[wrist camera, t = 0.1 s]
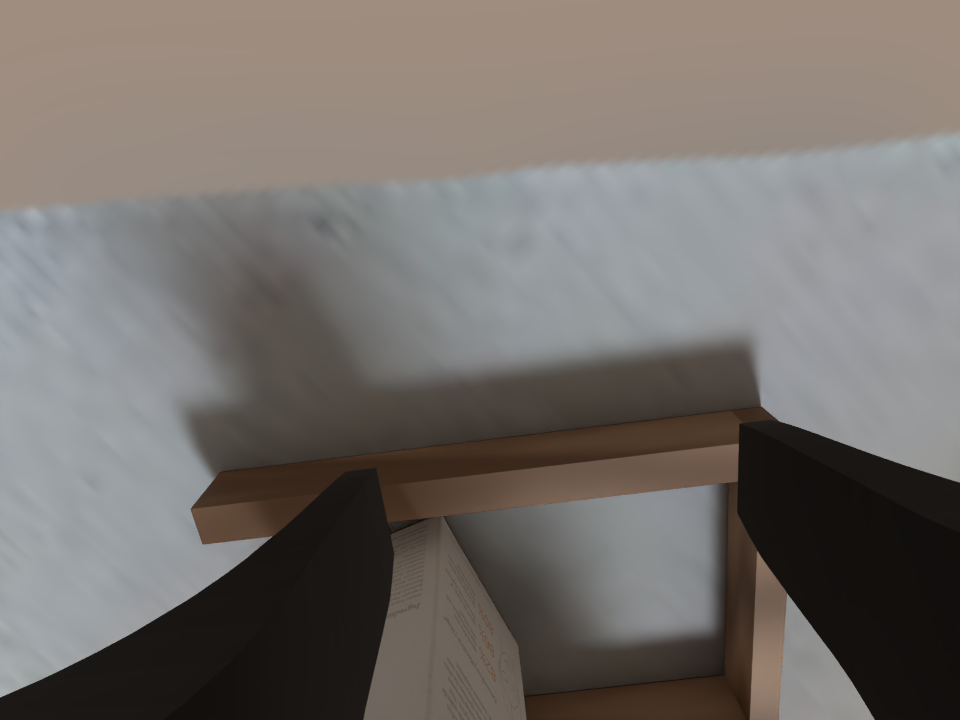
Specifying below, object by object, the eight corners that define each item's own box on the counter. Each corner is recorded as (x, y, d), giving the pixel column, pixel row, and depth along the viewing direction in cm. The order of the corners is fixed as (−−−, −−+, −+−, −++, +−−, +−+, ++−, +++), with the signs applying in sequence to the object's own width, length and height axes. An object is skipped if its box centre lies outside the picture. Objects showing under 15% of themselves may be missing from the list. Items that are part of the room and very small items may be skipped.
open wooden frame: (749, 696, 27) (776, 748, 24) (306, 744, 27) (290, 799, 25) (761, 406, 22) (797, 436, 19) (220, 472, 22) (190, 509, 20)
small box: (323, 556, 24) (218, 840, 14) (443, 507, 23) (424, 769, 13) (410, 686, 26) (374, 1007, 16) (521, 645, 26) (555, 954, 16)
